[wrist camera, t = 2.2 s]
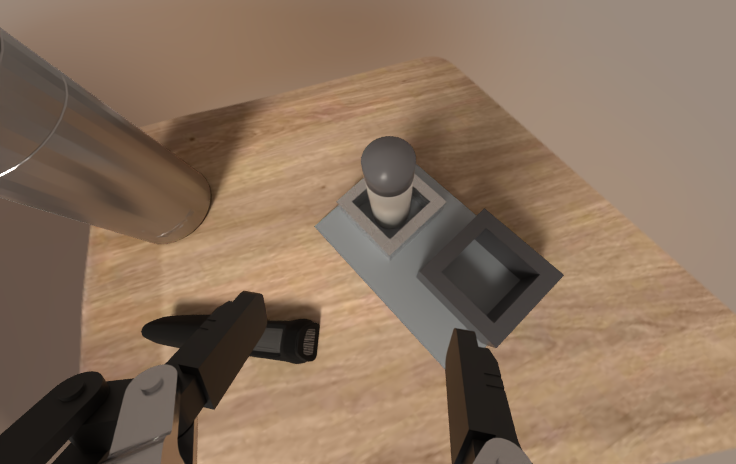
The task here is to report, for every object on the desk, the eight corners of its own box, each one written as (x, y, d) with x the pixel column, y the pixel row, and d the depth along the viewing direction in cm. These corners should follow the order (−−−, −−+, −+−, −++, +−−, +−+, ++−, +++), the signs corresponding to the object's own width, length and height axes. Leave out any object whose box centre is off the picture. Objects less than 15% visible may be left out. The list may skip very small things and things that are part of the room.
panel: (317, 229, 28) (314, 226, 27) (400, 155, 30) (400, 150, 29) (452, 377, 23) (454, 379, 22) (543, 279, 25) (549, 278, 24)
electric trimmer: (173, 307, 28) (145, 306, 25) (321, 319, 26) (311, 320, 23) (162, 347, 27) (132, 351, 24) (316, 363, 25) (305, 369, 22)
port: (416, 277, 25) (419, 271, 22) (475, 219, 26) (486, 205, 23) (481, 343, 23) (496, 348, 20) (542, 278, 24) (566, 272, 21)
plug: (365, 211, 27) (350, 160, 18) (391, 187, 28) (388, 126, 19) (390, 236, 26) (387, 195, 17) (417, 211, 27) (427, 159, 18)
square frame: (341, 211, 28) (336, 201, 25) (391, 166, 29) (391, 153, 26) (389, 261, 26) (389, 255, 23) (442, 211, 27) (446, 201, 24)
